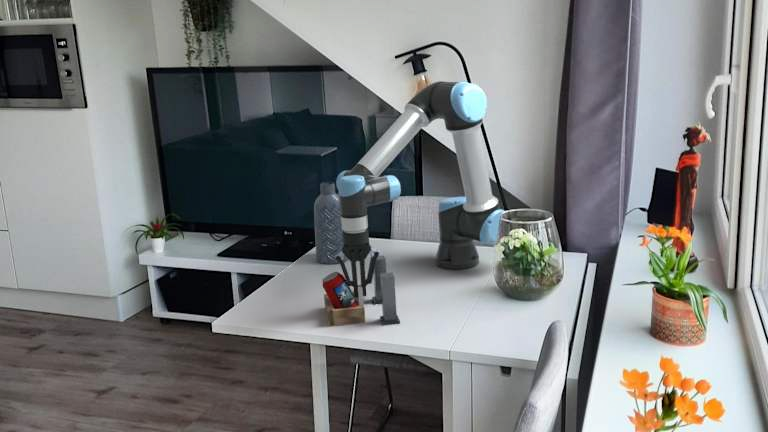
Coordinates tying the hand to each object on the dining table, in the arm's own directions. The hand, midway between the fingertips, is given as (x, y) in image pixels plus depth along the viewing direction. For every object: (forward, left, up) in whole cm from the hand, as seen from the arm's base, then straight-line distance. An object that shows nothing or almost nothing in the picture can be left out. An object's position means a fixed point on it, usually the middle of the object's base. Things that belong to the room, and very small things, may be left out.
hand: (361, 306), depth 224 cm
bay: (+5, -1, -2) cm, 5 cm away
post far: (-7, -9, -2) cm, 12 cm away
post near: (-7, +8, -2) cm, 11 cm away
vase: (+4, -56, -2) cm, 56 cm away
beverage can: (+4, 0, -1) cm, 4 cm away
